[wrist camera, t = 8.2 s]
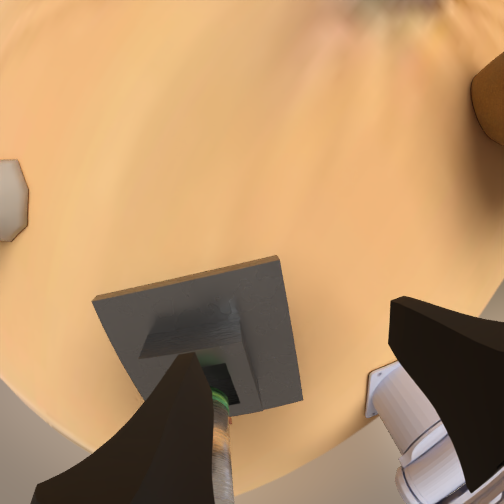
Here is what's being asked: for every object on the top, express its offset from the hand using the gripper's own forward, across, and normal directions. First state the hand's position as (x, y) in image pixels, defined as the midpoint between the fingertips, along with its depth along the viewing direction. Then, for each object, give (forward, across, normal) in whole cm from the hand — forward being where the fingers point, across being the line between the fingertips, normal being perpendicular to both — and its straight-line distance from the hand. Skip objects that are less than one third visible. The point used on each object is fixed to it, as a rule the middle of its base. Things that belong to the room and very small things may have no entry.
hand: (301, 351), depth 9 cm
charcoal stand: (+10, +6, +7) cm, 14 cm away
